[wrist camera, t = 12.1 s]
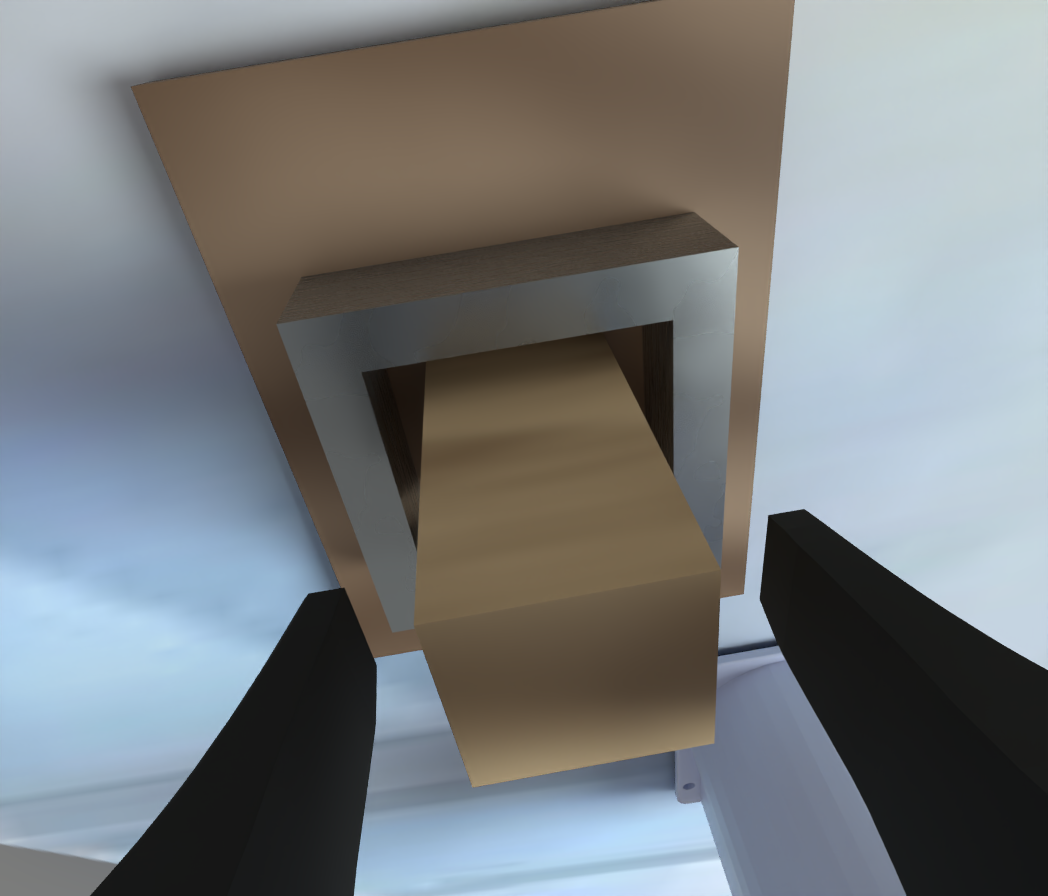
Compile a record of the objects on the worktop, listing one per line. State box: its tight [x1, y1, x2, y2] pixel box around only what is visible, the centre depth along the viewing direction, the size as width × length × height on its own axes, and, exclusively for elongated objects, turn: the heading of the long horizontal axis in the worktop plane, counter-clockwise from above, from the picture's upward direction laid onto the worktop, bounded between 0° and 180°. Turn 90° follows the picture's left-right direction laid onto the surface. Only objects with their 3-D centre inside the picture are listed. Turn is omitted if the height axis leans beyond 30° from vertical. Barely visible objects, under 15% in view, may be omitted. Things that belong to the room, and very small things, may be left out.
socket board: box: [131, 0, 795, 658], centre depth 15 cm, size 16×12×4 cm
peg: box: [414, 332, 721, 787], centre depth 13 cm, size 4×4×8 cm
